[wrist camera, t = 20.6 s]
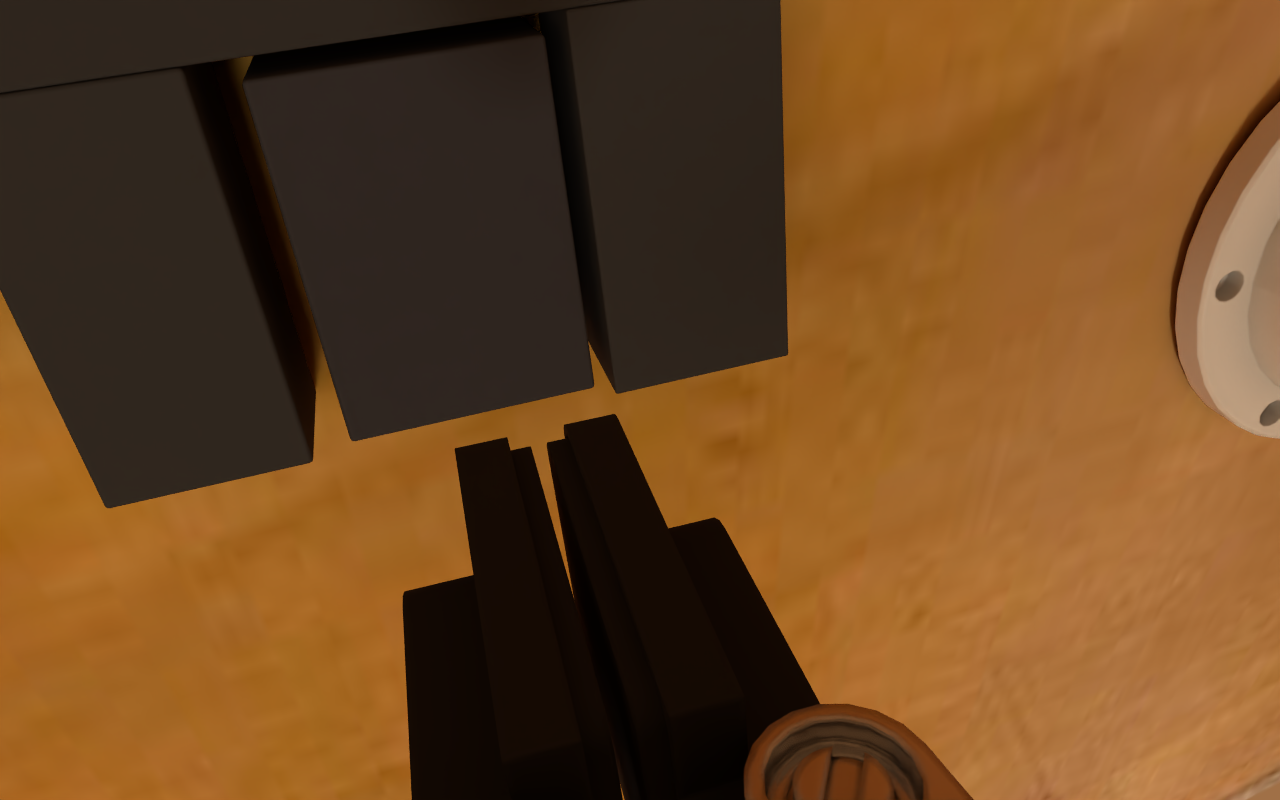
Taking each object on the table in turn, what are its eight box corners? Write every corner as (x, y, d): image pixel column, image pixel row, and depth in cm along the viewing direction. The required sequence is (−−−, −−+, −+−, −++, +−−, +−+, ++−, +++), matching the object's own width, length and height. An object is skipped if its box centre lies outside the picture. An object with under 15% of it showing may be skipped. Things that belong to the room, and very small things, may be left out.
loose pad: (517, 11, 19) (545, 34, 16) (566, 329, 22) (595, 388, 20) (253, 50, 18) (240, 81, 15) (349, 375, 21) (351, 443, 19)
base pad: (709, -304, 17) (774, -334, 15) (740, 302, 23) (789, 356, 21) (-159, -226, 15) (-263, -246, 12) (133, 432, 21) (105, 511, 18)
